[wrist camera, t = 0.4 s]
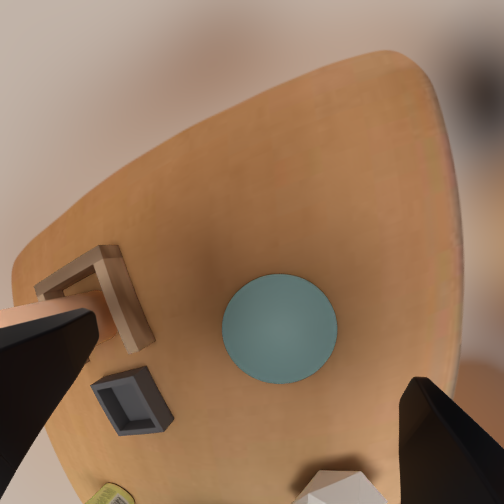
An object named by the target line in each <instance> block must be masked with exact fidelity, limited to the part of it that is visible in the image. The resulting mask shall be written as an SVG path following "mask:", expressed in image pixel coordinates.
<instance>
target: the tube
mask: <svg viewBox="0 0 504 504" xmlns="http://www.w3.org/2000/svg"><path fill="white" fill-rule="evenodd" d="M85 504H134V500H133V498H132V497H131V496H130V495H129V494H128V493H127V492H126V491H125V490H124V489H122V488H121V487H119V486H117V485H114V484H111V483H107V484H105V485H104V486H103V487H102V488H101V489H100V490H99V491H98V492H97V493H96V494H95V495H94V496H93V497H92V498H91V499H90V500H88V501H87V502H86V503H85Z"/></svg>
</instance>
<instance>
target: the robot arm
mask: <svg viewBox="0 0 504 504" xmlns="http://www.w3.org/2000/svg"><path fill="white" fill-rule="evenodd" d="M98 340H99V329H98V324H97V318H96V314H95V313H94V312H93V311H92V310H89V309H86V308H79V309H75V310H71V311H67V312H63V313H59V314H55V315H51V316H47V317H43V318H39V319H35V320H31V321H27V322H23V323H19V324H15V325H11V326H7V327H3V328H0V499H1V497H2V496H3V494H4V492H5V490H6V488H7V486H8V485H9V483H10V481H11V479H12V477H13V476H14V474H15V472H16V470H17V469H18V467H19V465H20V463H21V462H22V460H23V458H24V457H25V455H26V453H27V452H28V450H29V449H30V447H31V445H32V444H33V442H34V441H35V439H36V437H37V436H38V434H39V432H40V431H41V430H42V428H43V427H44V425H45V424H46V422H47V420H48V419H49V417H50V416H51V414H52V413H53V411H54V410H55V409H56V407H57V406H58V404H59V403H60V401H61V400H62V398H63V397H64V395H65V394H66V393H67V391H68V390H69V388H70V387H71V385H72V384H73V383H74V381H75V380H76V378H77V376H78V375H79V373H80V371H81V370H82V368H83V366H84V364H85V363H86V361H87V359H88V357H89V356H90V354H91V352H92V351H93V349H94V347H95V346H96V344H97V342H98ZM399 466H400V486H401V504H504V449H503V448H502V447H501V446H500V445H499V444H498V443H497V442H496V441H495V440H494V439H493V438H492V437H491V436H490V435H489V434H488V433H487V432H486V431H484V429H482V428H481V427H480V426H479V425H478V424H477V423H476V422H475V421H474V420H473V419H472V418H471V417H470V416H469V415H468V414H467V413H465V412H464V411H463V410H462V409H461V408H460V407H459V406H458V405H457V404H456V403H455V402H454V401H453V400H452V399H450V398H449V397H448V396H447V395H446V394H445V393H444V392H443V391H442V390H441V389H440V388H438V387H437V386H436V385H435V384H434V383H433V382H432V381H431V380H430V379H429V378H427V377H413V378H412V379H411V381H410V383H409V384H408V386H407V388H406V390H405V391H404V393H403V395H402V397H401V399H400V402H399Z"/></svg>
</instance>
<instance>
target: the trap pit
mask: <svg viewBox="0 0 504 504" xmlns="http://www.w3.org/2000/svg"><path fill="white" fill-rule="evenodd" d="M90 386H91V388H92V390H93V392H94V394H95V396H96V398H97V399H98V401H99V403H100V405H101V407H102V409H103V410H104V412H105V414H106V416H107V417H108V419H109V421H110V422H111V424H112V426H113V427H114V429H115V431H116V432H117V434H118V435H119V436H126V435H139V434H149V433H158V432H164V431H165V430H166V429H167V428H168V426H169V425H170V424H171V422H172V421H173V420H174V417H173V416H172V414H171V412H170V410H169V409H168V407H167V405H166V403H165V401H164V400H163V398H162V396H161V394H160V392H159V390H158V388H157V386H156V384H155V383H154V381H153V379H152V377H151V375H150V373H149V371H148V369H147V367H146V366H144V367H141V368H137V369H133V370H129V371H125V372H121V373H117V374H113V375H109V376H105V377H103V378H101V379H100V380H98V381H97V382H95V383H93V384H92V385H90Z"/></svg>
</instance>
